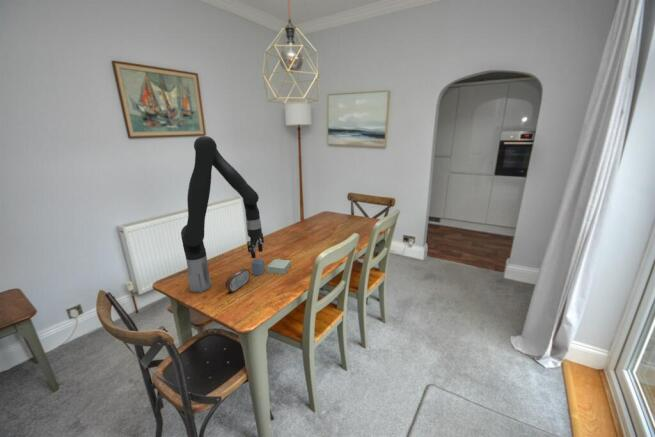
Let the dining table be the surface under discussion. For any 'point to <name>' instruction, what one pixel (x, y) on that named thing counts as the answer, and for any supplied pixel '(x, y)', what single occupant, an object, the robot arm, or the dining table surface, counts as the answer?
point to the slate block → (258, 267)
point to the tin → (237, 280)
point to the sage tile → (279, 266)
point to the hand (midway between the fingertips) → (257, 254)
